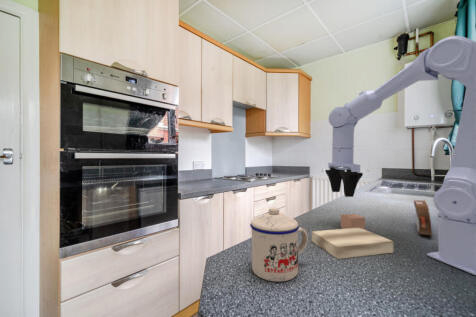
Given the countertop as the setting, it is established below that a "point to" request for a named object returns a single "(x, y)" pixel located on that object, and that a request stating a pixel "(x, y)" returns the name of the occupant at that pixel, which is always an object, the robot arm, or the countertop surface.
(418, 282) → the countertop surface
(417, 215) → the brown curved slab
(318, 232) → the base
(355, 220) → the block
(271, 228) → the teacup with lid
